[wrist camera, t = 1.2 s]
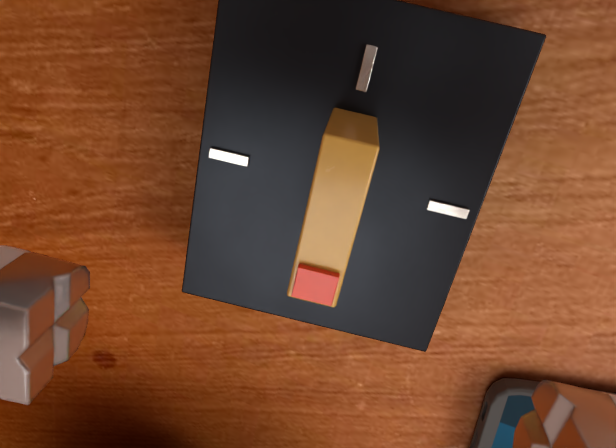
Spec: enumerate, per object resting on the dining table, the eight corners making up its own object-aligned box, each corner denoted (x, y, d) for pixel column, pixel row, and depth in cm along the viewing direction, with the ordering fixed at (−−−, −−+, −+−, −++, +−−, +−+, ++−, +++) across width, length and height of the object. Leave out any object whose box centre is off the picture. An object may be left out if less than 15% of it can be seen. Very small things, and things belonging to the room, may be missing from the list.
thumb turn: (333, 106, 16) (322, 134, 12) (377, 117, 16) (380, 148, 12) (302, 240, 18) (284, 301, 14) (342, 250, 18) (334, 313, 14)
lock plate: (245, -32, 18) (221, -41, 15) (519, 31, 18) (549, 34, 15) (204, 258, 23) (179, 294, 20) (419, 311, 22) (426, 355, 19)
